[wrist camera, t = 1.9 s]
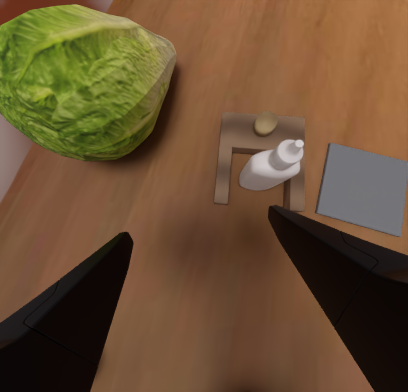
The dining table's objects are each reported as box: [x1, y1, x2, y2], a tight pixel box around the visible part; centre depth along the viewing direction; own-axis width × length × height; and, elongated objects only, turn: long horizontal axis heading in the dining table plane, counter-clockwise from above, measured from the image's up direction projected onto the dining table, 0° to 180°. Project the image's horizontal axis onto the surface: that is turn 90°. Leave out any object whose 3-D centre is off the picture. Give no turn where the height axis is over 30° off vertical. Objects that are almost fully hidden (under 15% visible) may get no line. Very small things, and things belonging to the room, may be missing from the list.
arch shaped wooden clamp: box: [214, 111, 305, 212], centre depth 23 cm, size 15×13×4 cm
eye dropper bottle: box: [239, 139, 304, 191], centre depth 18 cm, size 4×6×12 cm
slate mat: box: [315, 143, 408, 237], centre depth 23 cm, size 12×12×1 cm
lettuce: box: [0, 5, 176, 161], centre depth 21 cm, size 15×25×16 cm
